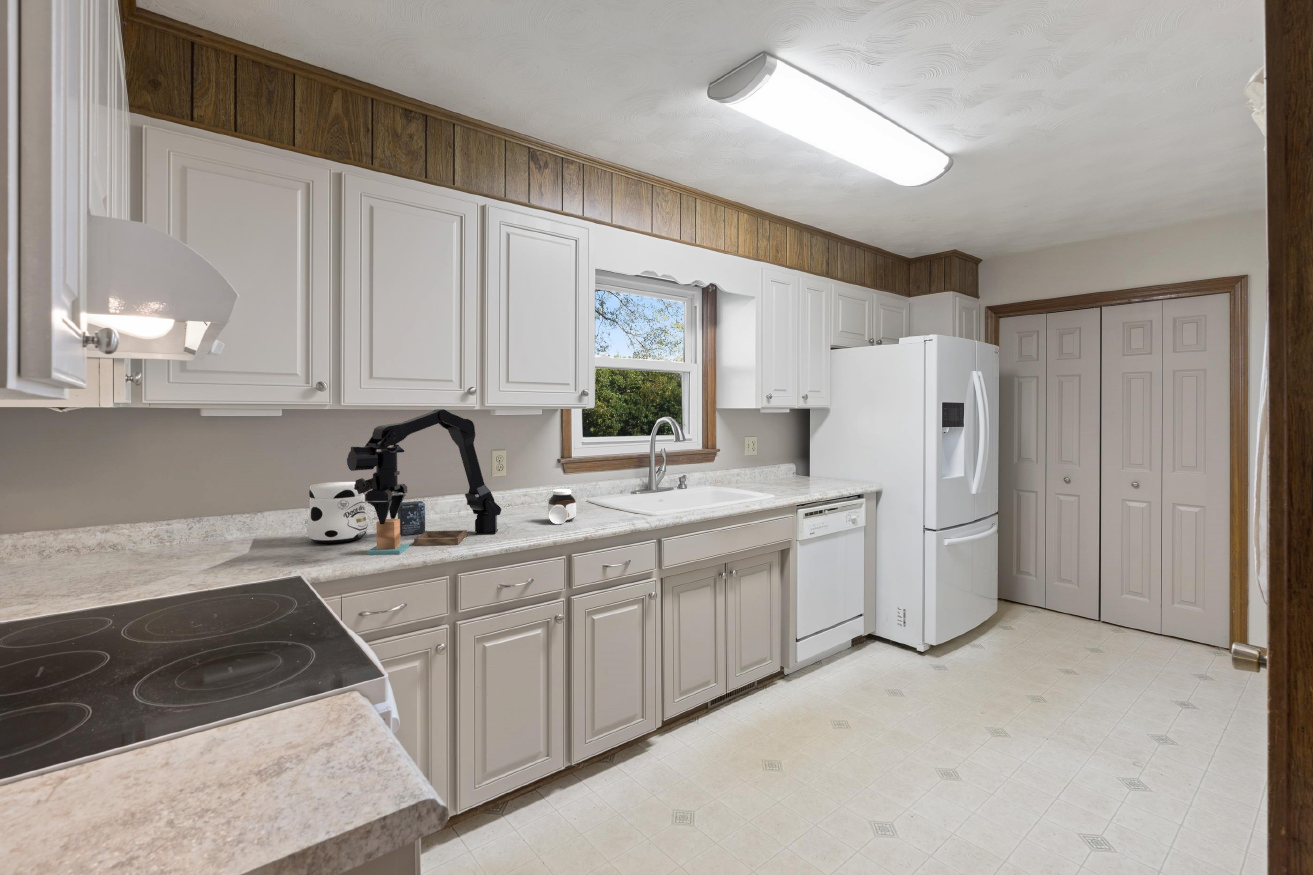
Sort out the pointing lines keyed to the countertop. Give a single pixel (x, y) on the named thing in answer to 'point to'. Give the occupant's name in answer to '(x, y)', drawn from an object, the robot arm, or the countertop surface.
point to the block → (388, 534)
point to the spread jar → (561, 506)
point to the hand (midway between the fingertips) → (387, 521)
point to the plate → (388, 550)
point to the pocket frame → (427, 540)
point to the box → (412, 518)
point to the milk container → (336, 513)
